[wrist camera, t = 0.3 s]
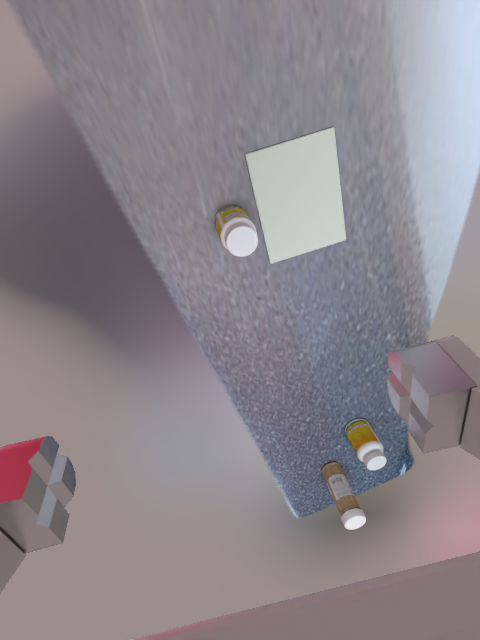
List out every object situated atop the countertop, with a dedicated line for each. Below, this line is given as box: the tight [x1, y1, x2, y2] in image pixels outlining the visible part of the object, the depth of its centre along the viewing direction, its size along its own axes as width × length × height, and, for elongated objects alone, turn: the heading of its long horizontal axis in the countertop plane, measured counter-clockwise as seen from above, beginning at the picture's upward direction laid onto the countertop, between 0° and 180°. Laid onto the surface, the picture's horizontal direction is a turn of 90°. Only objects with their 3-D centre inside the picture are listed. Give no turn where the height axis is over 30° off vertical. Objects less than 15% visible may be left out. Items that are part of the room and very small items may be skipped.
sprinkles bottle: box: [322, 462, 366, 530], centre depth 84 cm, size 5×5×13 cm
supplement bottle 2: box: [345, 418, 386, 470], centre depth 80 cm, size 5×5×10 cm
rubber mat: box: [245, 127, 346, 264], centre depth 56 cm, size 16×12×1 cm
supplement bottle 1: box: [215, 205, 258, 257], centre depth 52 cm, size 5×5×8 cm
